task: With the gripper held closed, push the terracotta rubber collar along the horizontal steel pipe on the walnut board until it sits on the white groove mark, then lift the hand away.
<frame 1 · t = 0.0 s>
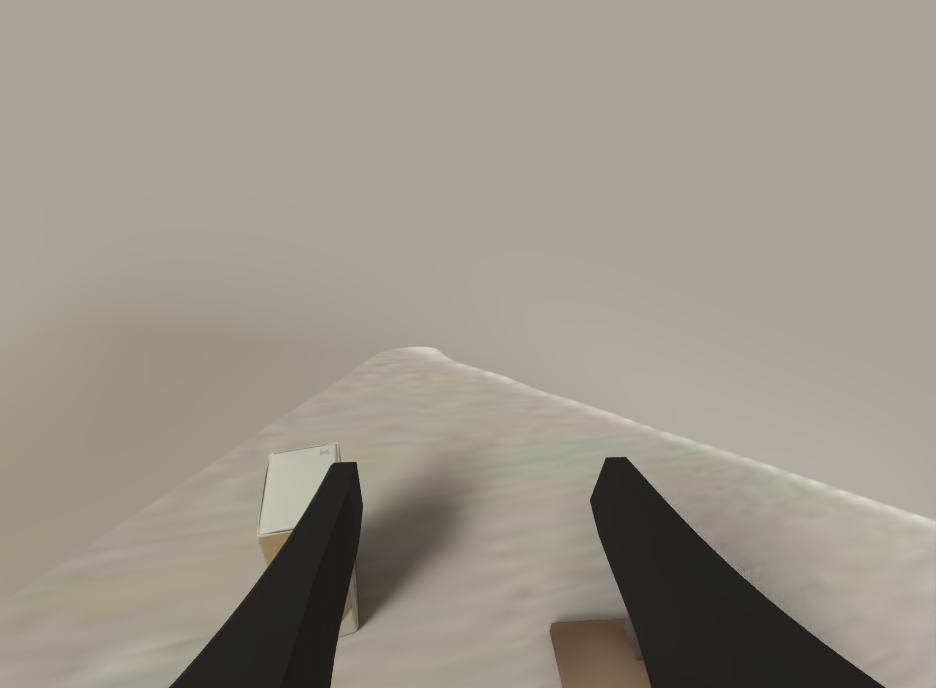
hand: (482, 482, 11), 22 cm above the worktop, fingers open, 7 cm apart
skincare box: (327, 599, 29), on the worktop
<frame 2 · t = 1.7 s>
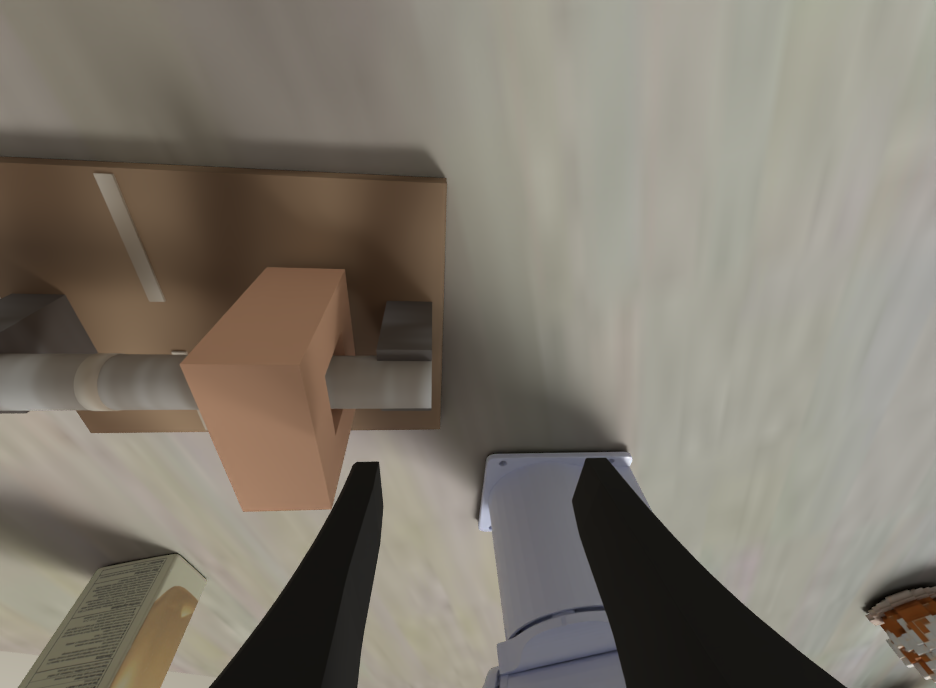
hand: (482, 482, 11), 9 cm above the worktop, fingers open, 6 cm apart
pipe rig: (249, 316, 18), on the worktop
collar: (297, 382, 15), point 5 cm above the worktop, slide at 0.0 cm
skincare box: (159, 569, 30), on the worktop
decorative ornament: (899, 596, 43), on the worktop
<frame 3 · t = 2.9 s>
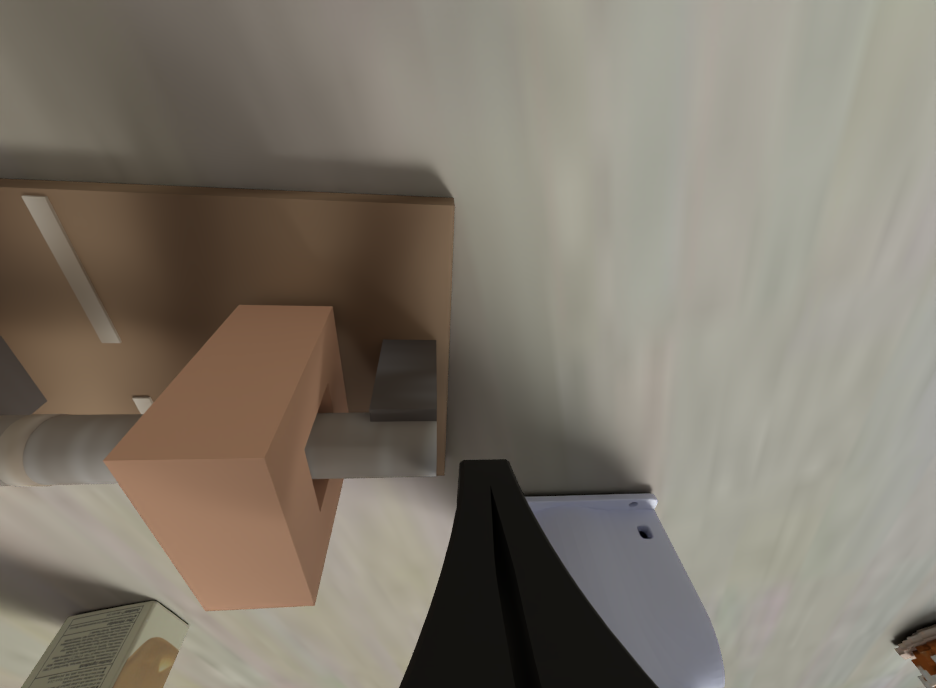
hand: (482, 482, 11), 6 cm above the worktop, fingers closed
pipe rig: (224, 355, 16), on the worktop
collar: (274, 445, 12), point 5 cm above the worktop, slide at 0.0 cm
skincare box: (136, 615, 27), on the worktop
decorative ornament: (930, 629, 41), on the worktop
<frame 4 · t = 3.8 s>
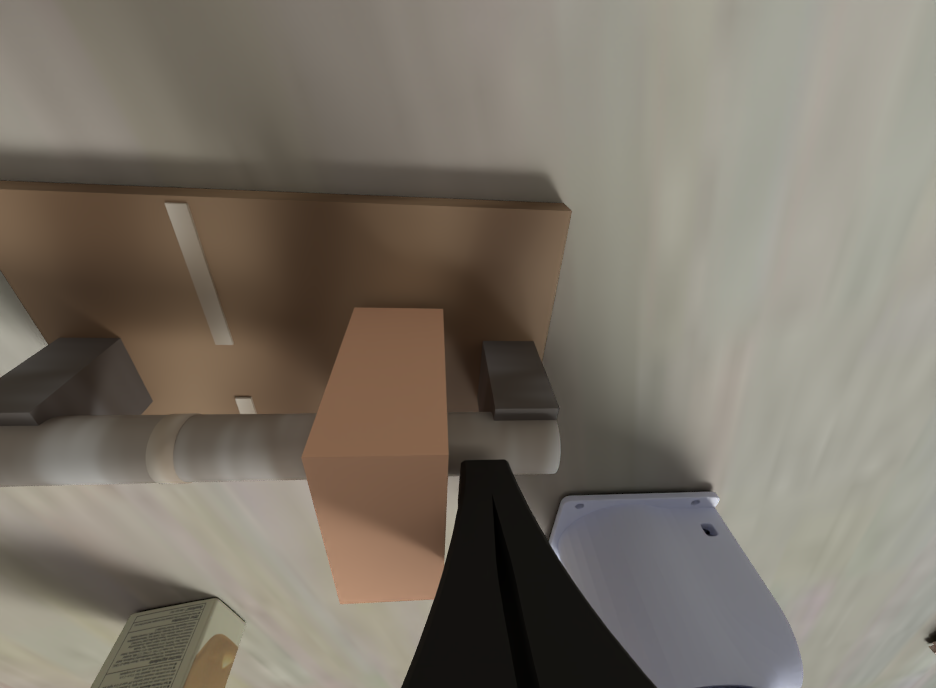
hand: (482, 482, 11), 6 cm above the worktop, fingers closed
pipe rig: (321, 356, 16), on the worktop
collar: (395, 444, 13), point 5 cm above the worktop, slide at 0.1 cm, touching gripper
skincare box: (195, 613, 28), on the worktop
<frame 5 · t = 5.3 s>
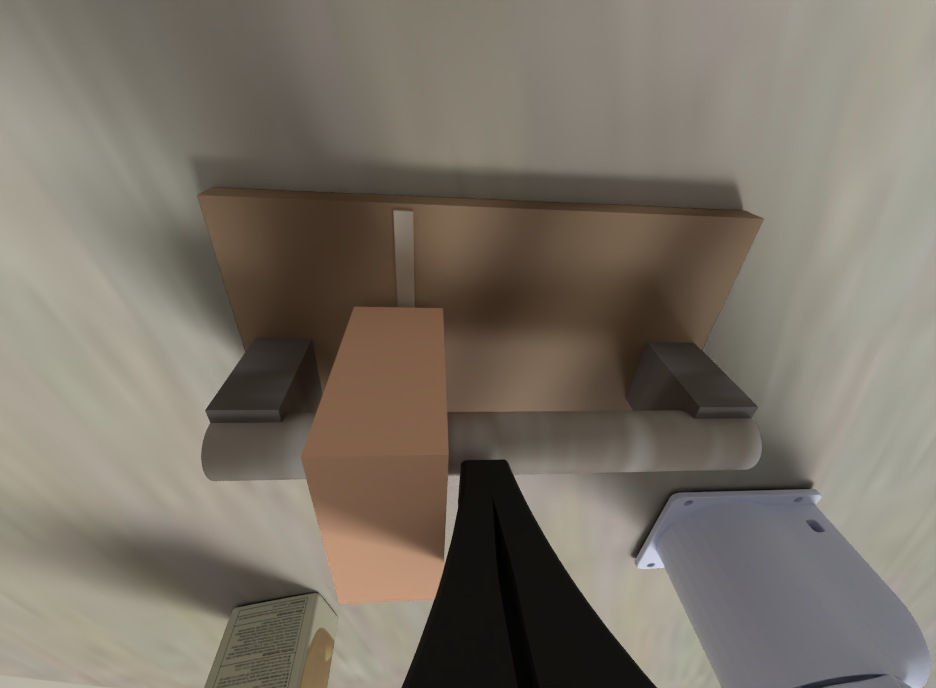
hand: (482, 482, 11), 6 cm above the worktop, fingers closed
pipe rig: (480, 356, 17), on the worktop
collar: (395, 444, 13), point 5 cm above the worktop, slide at 6.7 cm, touching gripper
skincare box: (291, 607, 28), on the worktop
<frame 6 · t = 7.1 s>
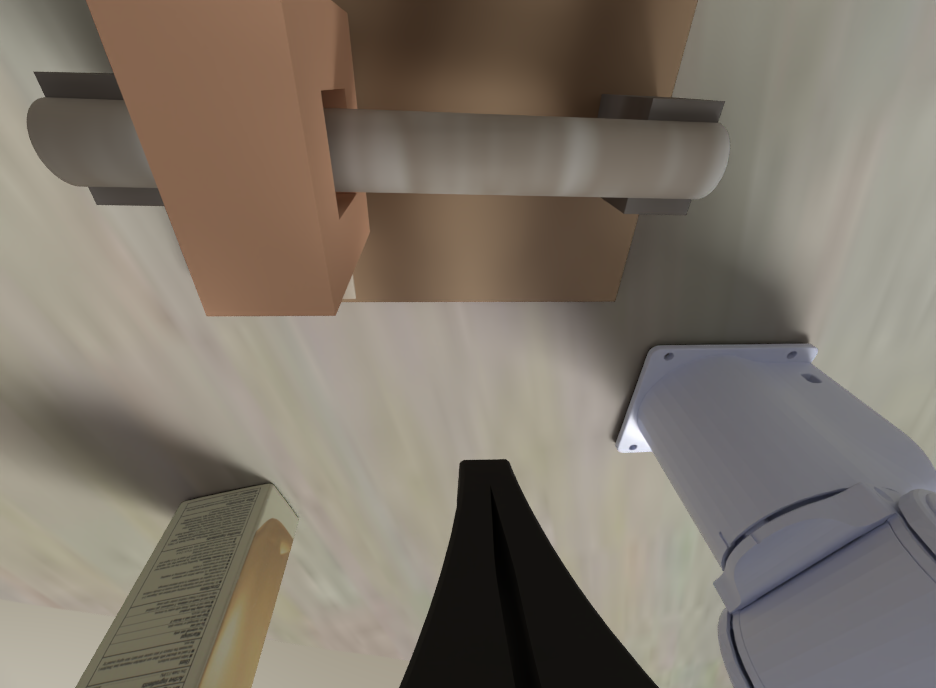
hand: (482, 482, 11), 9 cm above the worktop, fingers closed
pipe rig: (414, 133, 15), on the worktop
collar: (283, 150, 10), point 5 cm above the worktop, slide at 6.7 cm
skincare box: (246, 506, 26), on the worktop
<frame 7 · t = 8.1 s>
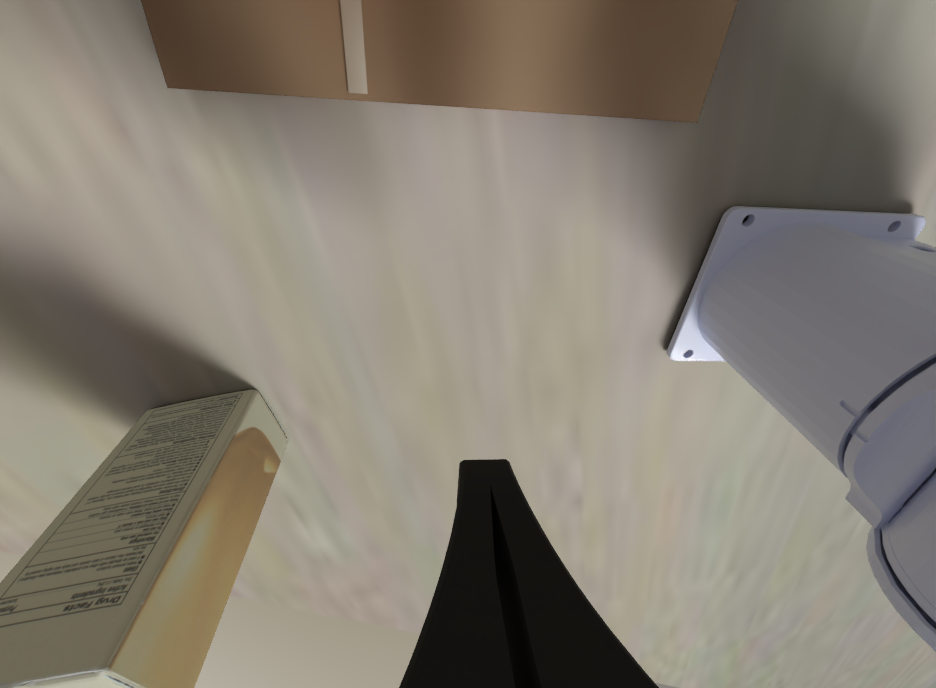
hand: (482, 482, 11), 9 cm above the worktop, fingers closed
skincare box: (226, 421, 22), on the worktop
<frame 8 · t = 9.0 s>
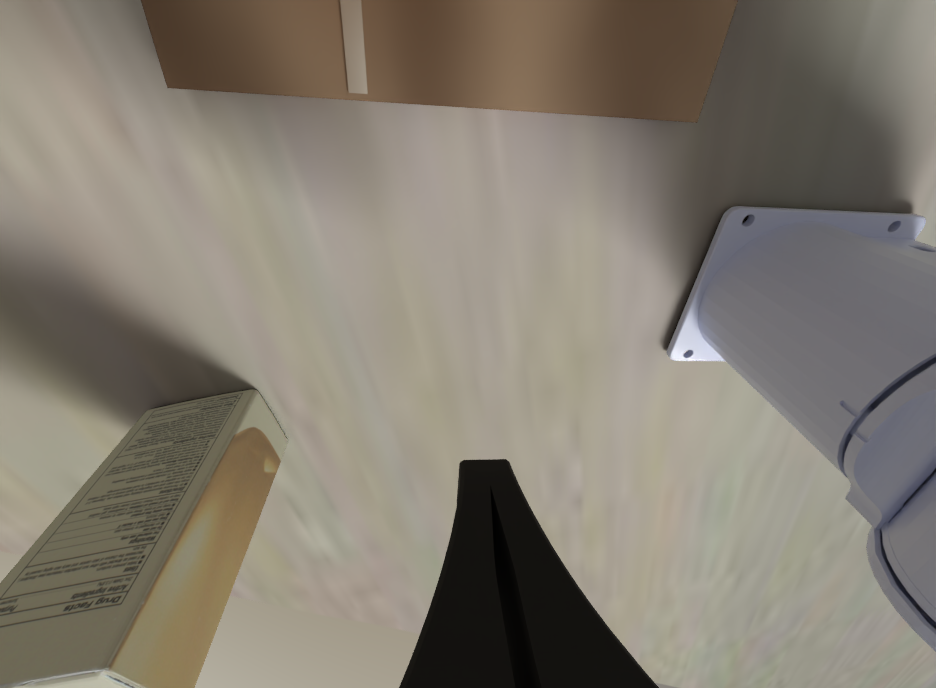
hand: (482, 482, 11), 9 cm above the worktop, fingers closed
skincare box: (226, 421, 22), on the worktop
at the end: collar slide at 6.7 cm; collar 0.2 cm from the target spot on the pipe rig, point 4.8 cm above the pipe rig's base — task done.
